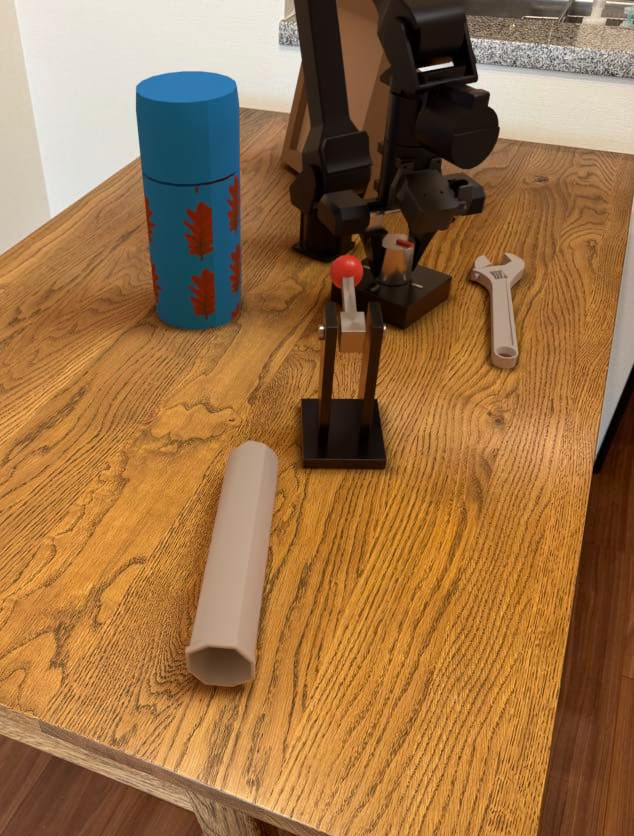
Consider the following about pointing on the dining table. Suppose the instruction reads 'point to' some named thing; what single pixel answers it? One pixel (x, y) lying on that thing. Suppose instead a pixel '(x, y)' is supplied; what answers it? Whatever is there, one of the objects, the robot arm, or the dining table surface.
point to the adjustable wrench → (500, 305)
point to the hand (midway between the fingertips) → (392, 273)
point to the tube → (235, 570)
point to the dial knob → (396, 259)
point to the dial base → (400, 295)
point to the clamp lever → (349, 304)
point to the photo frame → (349, 86)
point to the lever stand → (345, 404)
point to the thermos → (192, 195)
